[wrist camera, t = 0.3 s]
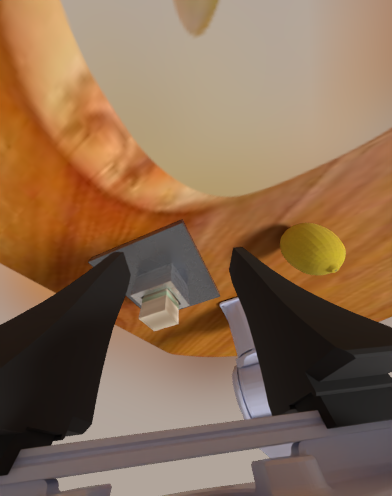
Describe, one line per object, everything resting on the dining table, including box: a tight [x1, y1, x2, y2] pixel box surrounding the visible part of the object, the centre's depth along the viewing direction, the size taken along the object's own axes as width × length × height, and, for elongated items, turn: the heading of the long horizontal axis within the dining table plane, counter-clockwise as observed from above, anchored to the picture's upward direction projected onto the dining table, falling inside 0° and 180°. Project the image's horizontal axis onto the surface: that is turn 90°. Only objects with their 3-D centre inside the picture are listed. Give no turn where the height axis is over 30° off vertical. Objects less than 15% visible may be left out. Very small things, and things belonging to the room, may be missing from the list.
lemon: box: [280, 223, 346, 275], centre depth 18 cm, size 6×6×8 cm
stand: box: [88, 219, 220, 310], centre depth 21 cm, size 16×14×9 cm
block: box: [139, 288, 179, 331], centre depth 21 cm, size 4×4×6 cm
